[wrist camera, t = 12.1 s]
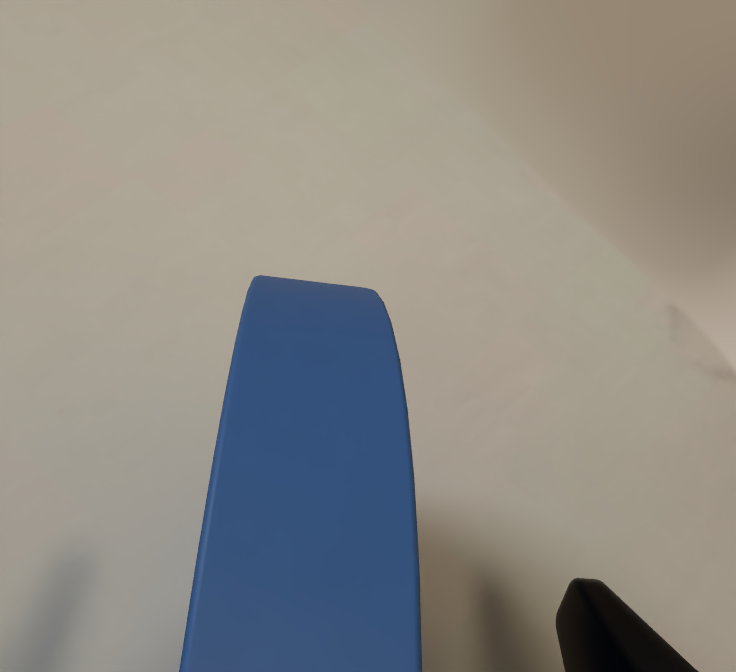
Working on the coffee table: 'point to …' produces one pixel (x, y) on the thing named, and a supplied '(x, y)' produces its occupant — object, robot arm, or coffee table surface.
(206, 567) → the disc
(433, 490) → the coffee table surface
